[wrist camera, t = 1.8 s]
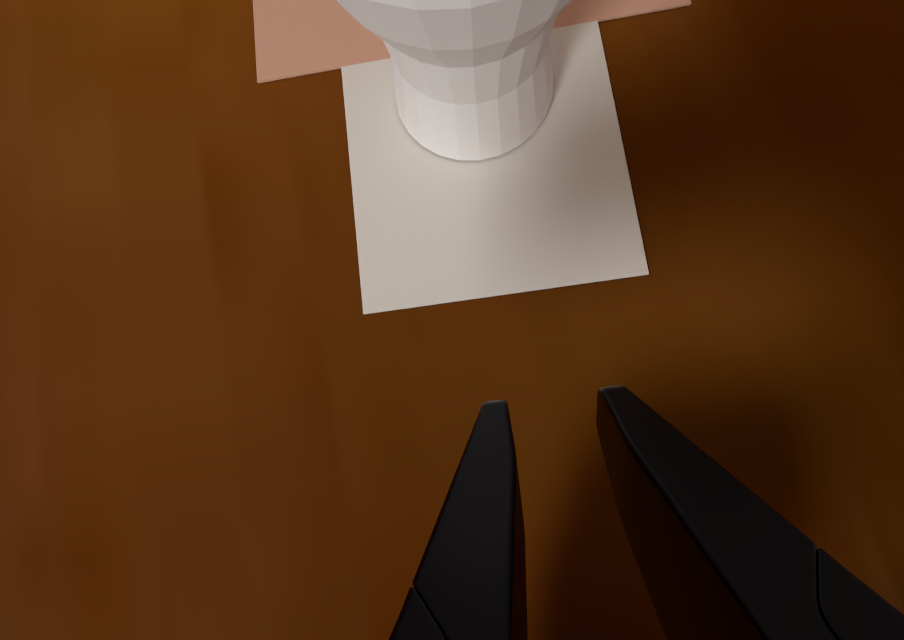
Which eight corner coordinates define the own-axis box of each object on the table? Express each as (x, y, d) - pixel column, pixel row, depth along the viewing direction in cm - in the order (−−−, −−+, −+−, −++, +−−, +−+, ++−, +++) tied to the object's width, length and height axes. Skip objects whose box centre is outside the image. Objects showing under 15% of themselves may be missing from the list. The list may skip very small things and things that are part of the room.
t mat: (753, 259, 21) (754, 259, 20) (271, 327, 22) (270, 327, 22) (658, -128, 24) (658, -130, 24) (251, -46, 26) (250, -47, 26)
